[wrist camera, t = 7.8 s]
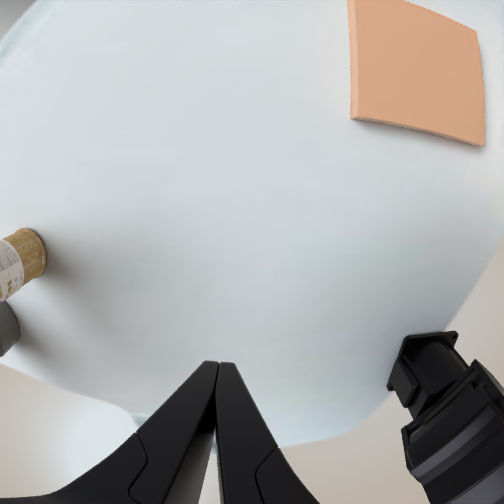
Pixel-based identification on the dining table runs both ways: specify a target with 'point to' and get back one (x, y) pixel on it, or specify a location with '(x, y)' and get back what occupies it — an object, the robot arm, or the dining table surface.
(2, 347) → the candle holder
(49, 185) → the dining table surface
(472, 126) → the tile
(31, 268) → the sprinkles bottle
